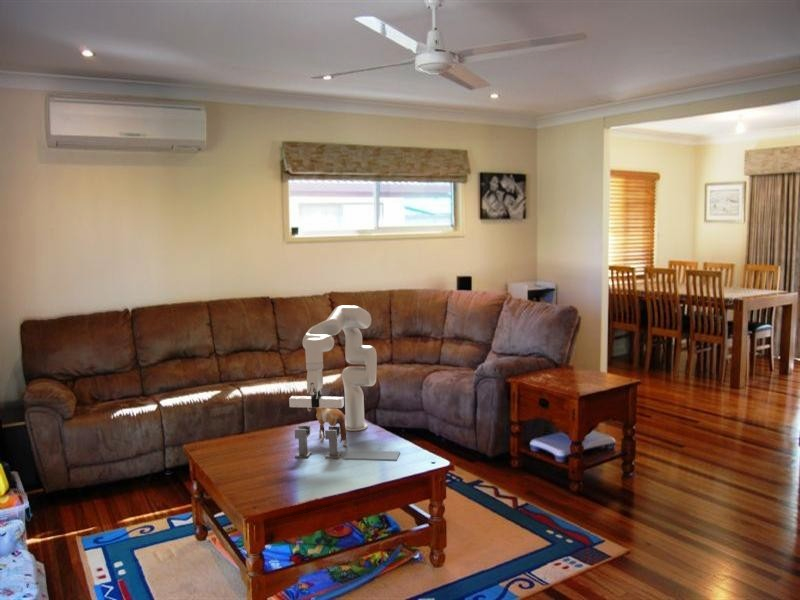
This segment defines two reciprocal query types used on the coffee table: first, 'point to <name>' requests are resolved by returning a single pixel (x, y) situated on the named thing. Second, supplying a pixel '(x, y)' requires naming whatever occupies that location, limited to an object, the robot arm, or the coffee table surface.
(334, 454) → the post
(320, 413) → the horse figurine
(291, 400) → the rail
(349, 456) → the mat
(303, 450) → the post
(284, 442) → the coffee table surface
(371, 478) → the coffee table surface
